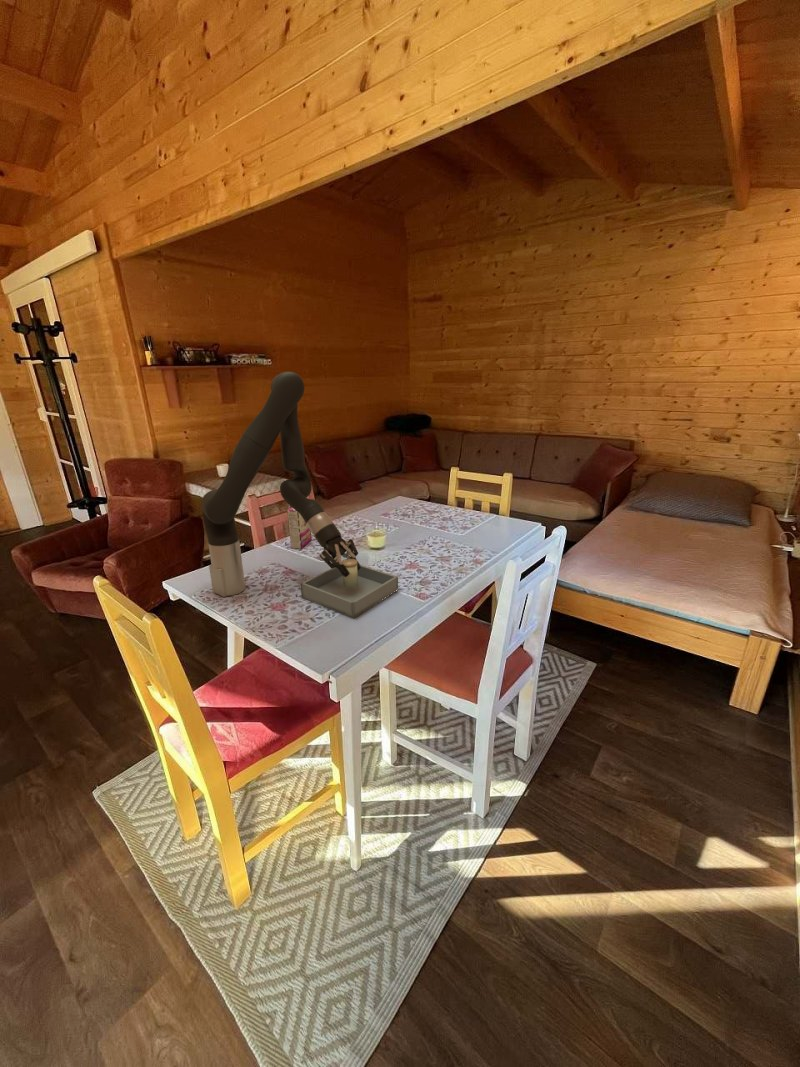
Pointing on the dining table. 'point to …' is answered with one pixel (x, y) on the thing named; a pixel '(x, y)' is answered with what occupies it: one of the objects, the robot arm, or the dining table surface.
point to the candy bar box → (298, 530)
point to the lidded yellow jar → (353, 576)
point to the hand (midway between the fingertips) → (353, 572)
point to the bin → (349, 590)
